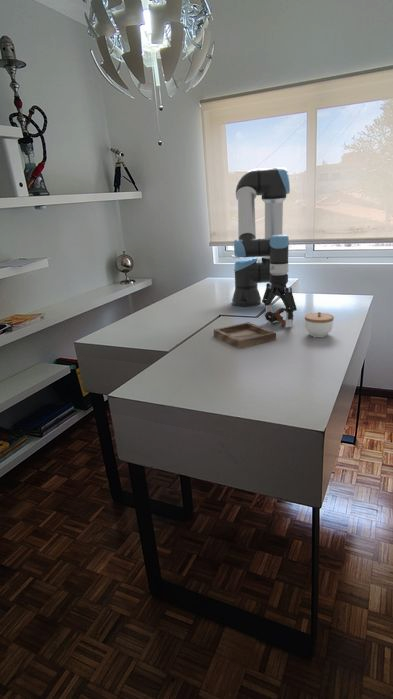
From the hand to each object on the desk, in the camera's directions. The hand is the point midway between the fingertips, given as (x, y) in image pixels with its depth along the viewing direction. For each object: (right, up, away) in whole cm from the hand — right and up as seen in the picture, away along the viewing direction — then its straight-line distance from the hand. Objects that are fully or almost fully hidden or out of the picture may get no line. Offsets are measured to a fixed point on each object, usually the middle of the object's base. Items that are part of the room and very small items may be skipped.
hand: (278, 323), depth 179 cm
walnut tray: (-16, -7, -13) cm, 22 cm away
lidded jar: (+13, -6, -15) cm, 20 cm away
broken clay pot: (+1, -1, +2) cm, 2 cm away
